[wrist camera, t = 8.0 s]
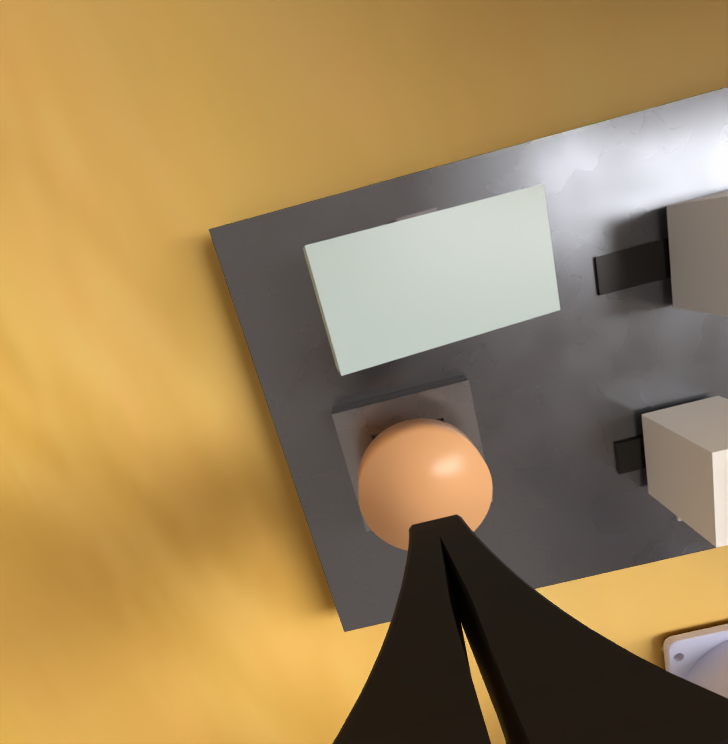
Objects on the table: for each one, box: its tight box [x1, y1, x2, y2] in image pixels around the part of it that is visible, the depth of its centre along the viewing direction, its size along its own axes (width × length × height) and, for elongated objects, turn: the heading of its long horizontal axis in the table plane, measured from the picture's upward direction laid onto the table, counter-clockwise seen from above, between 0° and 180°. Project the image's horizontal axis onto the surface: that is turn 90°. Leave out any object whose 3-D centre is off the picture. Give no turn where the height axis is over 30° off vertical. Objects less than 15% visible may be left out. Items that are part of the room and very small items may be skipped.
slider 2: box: [641, 396, 728, 548], centre depth 15 cm, size 4×3×4 cm
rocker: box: [303, 184, 560, 376], centre depth 14 cm, size 4×8×1 cm, turn 105°
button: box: [358, 418, 493, 551], centre depth 15 cm, size 4×4×2 cm
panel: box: [209, 87, 728, 632], centre depth 17 cm, size 18×30×2 cm, turn 104°
